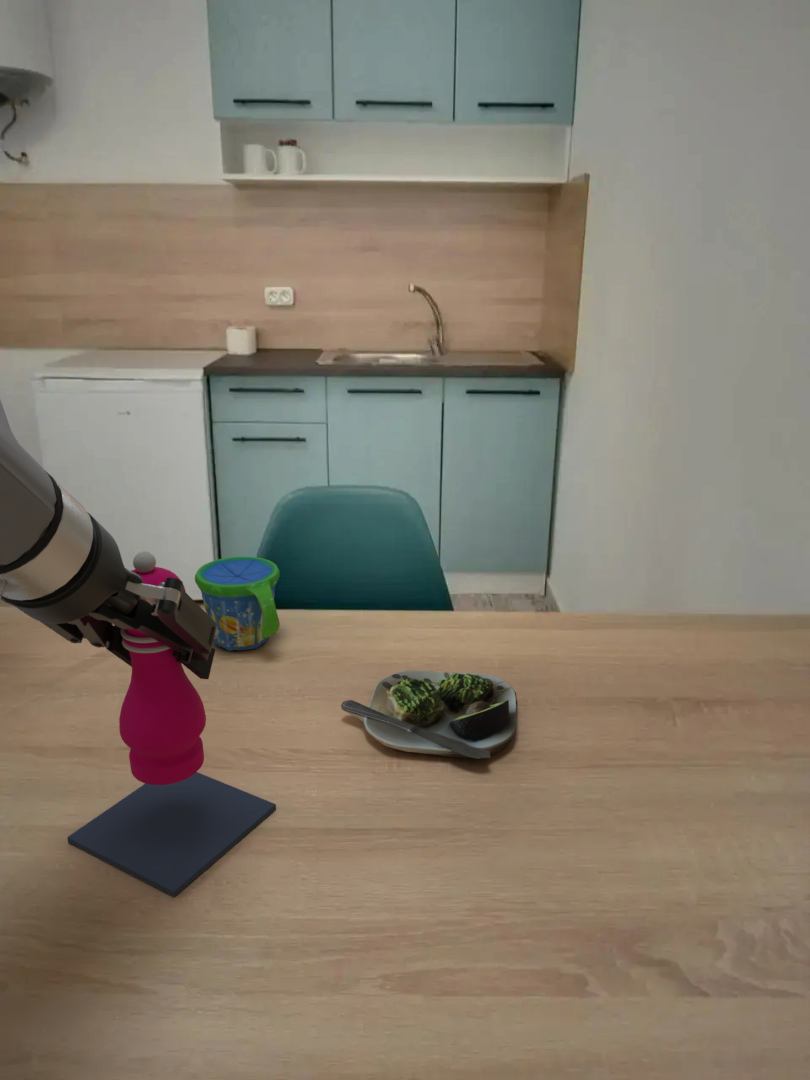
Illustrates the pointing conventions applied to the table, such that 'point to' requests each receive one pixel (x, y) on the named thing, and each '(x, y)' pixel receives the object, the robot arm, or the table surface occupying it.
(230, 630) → the snack cup
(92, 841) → the placemat
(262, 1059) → the table surface
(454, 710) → the salad plate
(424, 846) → the table surface
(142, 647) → the pepper mill
